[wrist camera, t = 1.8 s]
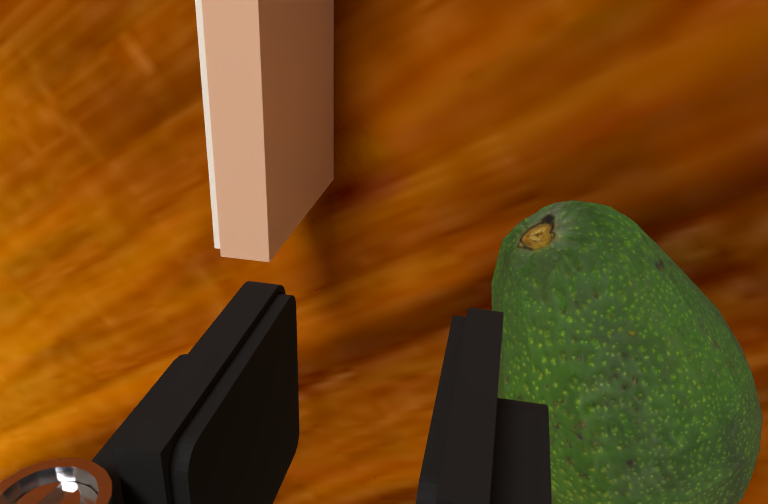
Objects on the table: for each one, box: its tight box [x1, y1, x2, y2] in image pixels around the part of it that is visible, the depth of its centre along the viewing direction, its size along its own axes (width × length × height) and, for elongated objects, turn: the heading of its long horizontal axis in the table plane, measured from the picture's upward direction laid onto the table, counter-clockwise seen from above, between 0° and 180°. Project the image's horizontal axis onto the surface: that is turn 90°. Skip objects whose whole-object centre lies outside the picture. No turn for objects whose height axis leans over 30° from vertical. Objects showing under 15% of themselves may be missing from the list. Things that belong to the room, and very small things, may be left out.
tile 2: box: [195, 0, 334, 262], centre depth 27 cm, size 9×2×9 cm, turn 178°
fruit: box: [491, 200, 762, 504], centre depth 29 cm, size 15×10×10 cm, turn 21°
